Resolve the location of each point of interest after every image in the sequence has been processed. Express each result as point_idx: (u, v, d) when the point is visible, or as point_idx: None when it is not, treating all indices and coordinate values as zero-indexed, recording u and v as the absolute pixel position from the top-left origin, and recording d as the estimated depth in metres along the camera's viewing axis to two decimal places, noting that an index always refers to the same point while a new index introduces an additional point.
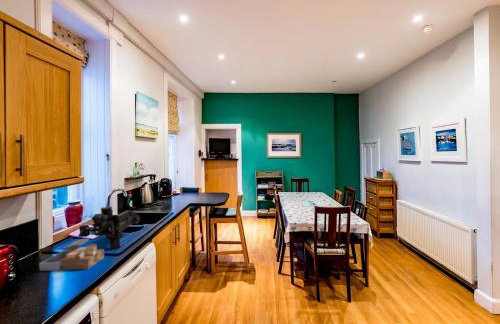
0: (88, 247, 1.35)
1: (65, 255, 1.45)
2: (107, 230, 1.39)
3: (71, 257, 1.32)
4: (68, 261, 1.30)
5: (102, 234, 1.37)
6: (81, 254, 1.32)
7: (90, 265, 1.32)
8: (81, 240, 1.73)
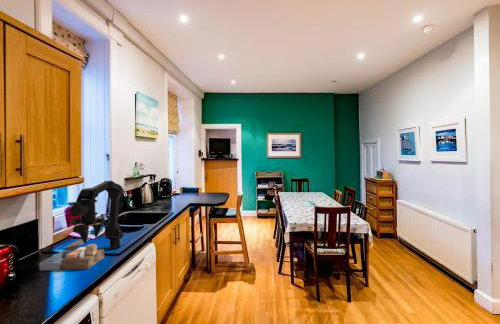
0: (88, 247, 1.35)
1: (65, 255, 1.45)
2: None
3: (71, 257, 1.32)
4: (68, 261, 1.30)
5: (85, 236, 1.31)
6: (81, 254, 1.32)
7: (90, 265, 1.32)
8: (81, 240, 1.72)
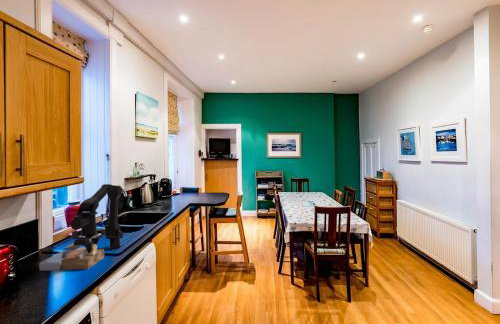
0: None
1: (65, 255, 1.45)
2: None
3: (71, 257, 1.32)
4: (68, 261, 1.30)
5: (89, 247, 1.34)
6: (81, 254, 1.32)
7: (90, 265, 1.32)
8: None
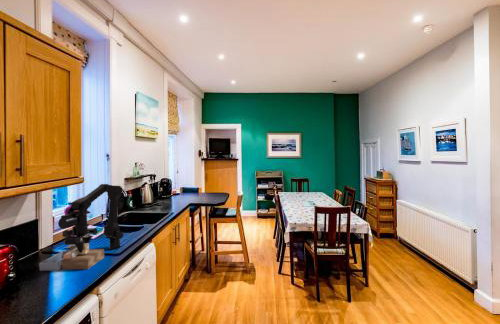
0: None
1: None
2: None
3: (68, 257, 1.32)
4: (68, 261, 1.30)
5: (81, 246, 1.34)
6: (73, 253, 1.32)
7: (90, 265, 1.32)
8: None
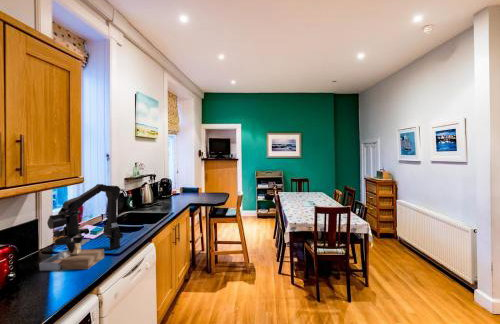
0: None
1: None
2: None
3: None
4: (68, 261, 1.30)
5: (71, 246, 1.34)
6: (64, 253, 1.32)
7: (90, 265, 1.32)
8: (81, 241, 1.72)
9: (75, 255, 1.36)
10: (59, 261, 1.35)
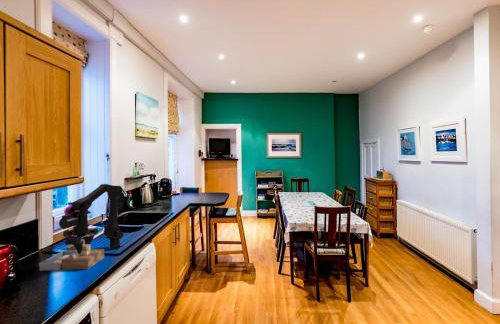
0: (82, 247, 1.35)
1: None
2: None
3: None
4: (68, 261, 1.30)
5: (79, 247, 1.33)
6: (74, 254, 1.32)
7: (90, 265, 1.32)
8: None
9: None
10: (59, 261, 1.35)
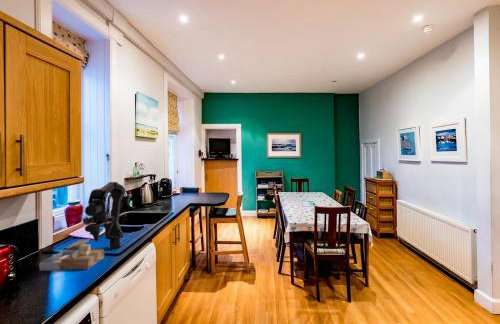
0: (82, 247, 1.35)
1: None
2: None
3: None
4: (68, 261, 1.30)
5: (96, 235, 1.36)
6: (74, 254, 1.32)
7: (90, 265, 1.32)
8: (81, 241, 1.71)
9: None
10: (59, 261, 1.35)
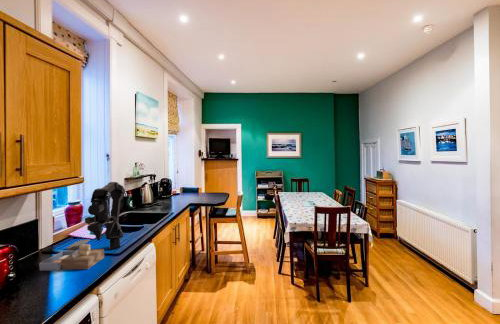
0: (82, 247, 1.35)
1: None
2: None
3: None
4: (68, 261, 1.30)
5: (99, 234, 1.37)
6: (74, 254, 1.32)
7: (90, 265, 1.32)
8: (81, 241, 1.71)
9: None
10: (59, 261, 1.35)
